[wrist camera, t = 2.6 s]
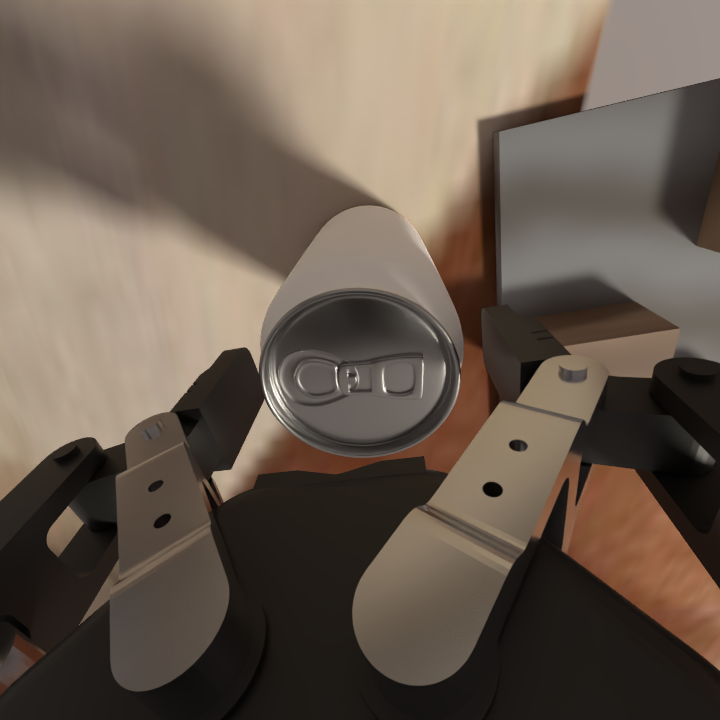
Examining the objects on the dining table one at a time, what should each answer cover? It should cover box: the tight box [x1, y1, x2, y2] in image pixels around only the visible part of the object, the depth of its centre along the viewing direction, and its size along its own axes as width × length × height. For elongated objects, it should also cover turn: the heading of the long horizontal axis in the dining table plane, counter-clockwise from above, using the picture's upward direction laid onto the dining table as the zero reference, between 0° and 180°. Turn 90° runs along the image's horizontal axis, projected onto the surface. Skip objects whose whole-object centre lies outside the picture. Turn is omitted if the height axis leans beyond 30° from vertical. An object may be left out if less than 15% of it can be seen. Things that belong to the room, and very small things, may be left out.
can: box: [259, 205, 464, 458], centre depth 15 cm, size 6×6×12 cm
